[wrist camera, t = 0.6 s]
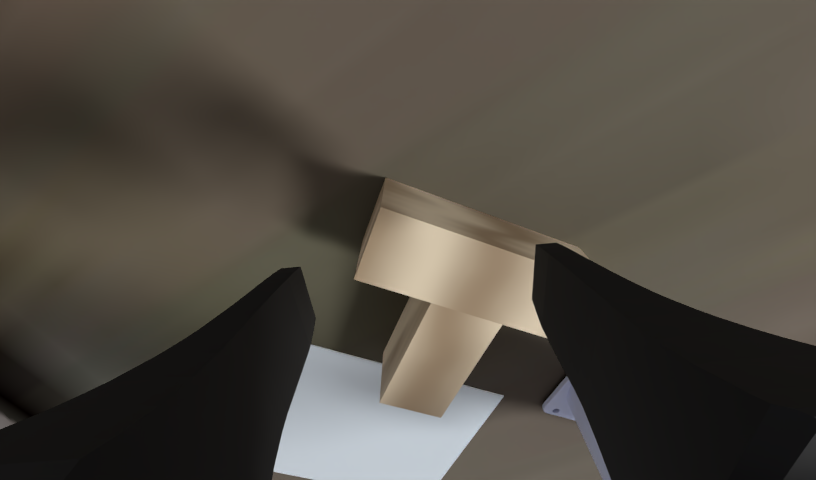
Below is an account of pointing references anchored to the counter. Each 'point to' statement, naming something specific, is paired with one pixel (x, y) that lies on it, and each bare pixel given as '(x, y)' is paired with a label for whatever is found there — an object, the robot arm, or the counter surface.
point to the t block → (445, 290)
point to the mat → (370, 425)
